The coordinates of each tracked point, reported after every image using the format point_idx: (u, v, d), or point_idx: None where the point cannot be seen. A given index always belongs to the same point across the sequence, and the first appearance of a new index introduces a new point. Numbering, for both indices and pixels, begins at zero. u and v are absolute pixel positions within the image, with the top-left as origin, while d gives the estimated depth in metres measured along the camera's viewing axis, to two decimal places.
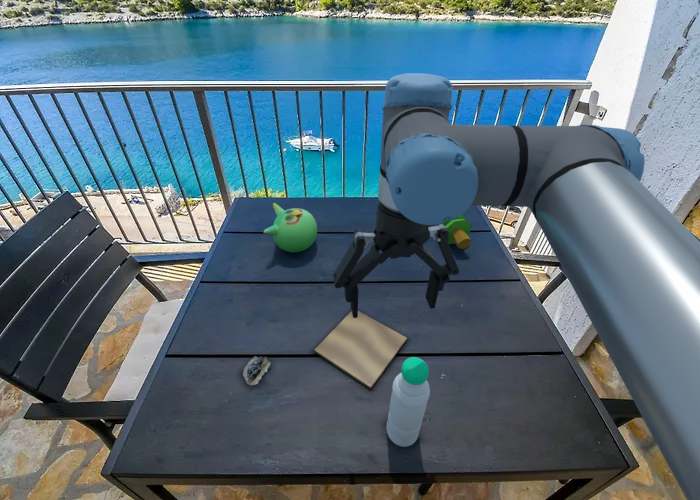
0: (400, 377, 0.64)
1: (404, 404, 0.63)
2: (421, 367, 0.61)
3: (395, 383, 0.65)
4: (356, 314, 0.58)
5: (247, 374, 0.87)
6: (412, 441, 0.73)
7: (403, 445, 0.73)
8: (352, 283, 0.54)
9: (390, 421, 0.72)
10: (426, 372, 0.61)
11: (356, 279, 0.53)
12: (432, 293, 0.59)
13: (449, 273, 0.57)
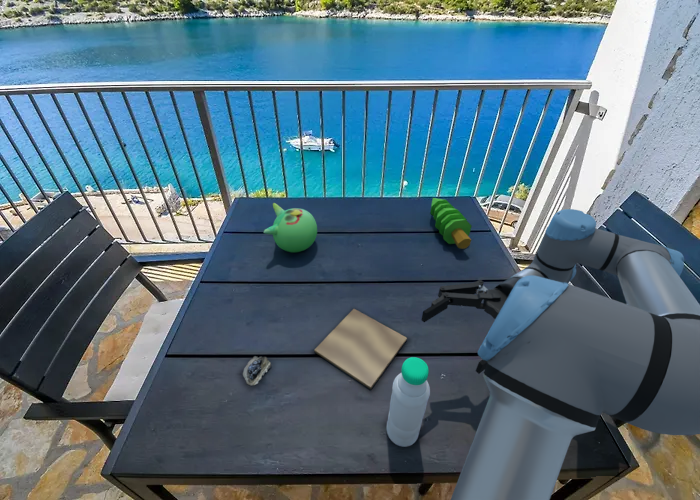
0: (400, 377, 0.64)
1: (404, 404, 0.63)
2: (421, 367, 0.61)
3: (395, 383, 0.65)
4: (428, 311, 0.68)
5: (247, 374, 0.87)
6: (412, 441, 0.73)
7: (403, 445, 0.73)
8: (450, 294, 0.71)
9: (390, 421, 0.72)
10: (426, 372, 0.60)
11: (455, 294, 0.71)
12: None
13: None
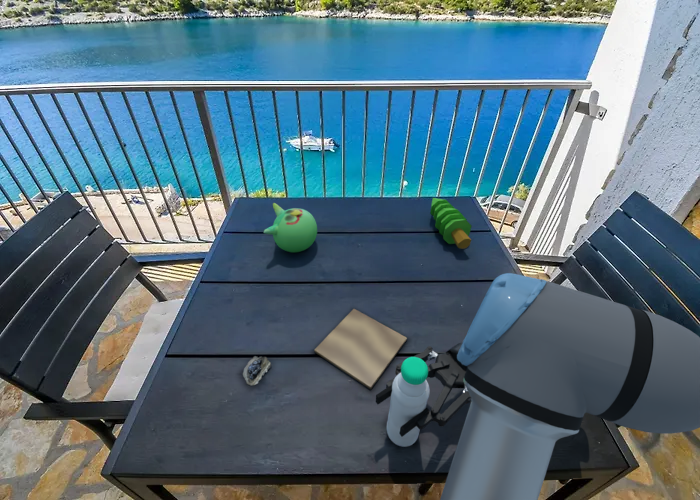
0: (400, 377, 0.64)
1: (404, 404, 0.63)
2: (421, 366, 0.61)
3: (395, 383, 0.65)
4: (381, 394, 0.68)
5: (247, 374, 0.87)
6: (412, 441, 0.73)
7: (403, 445, 0.73)
8: None
9: (390, 421, 0.72)
10: (425, 372, 0.61)
11: None
12: None
13: (438, 417, 0.66)
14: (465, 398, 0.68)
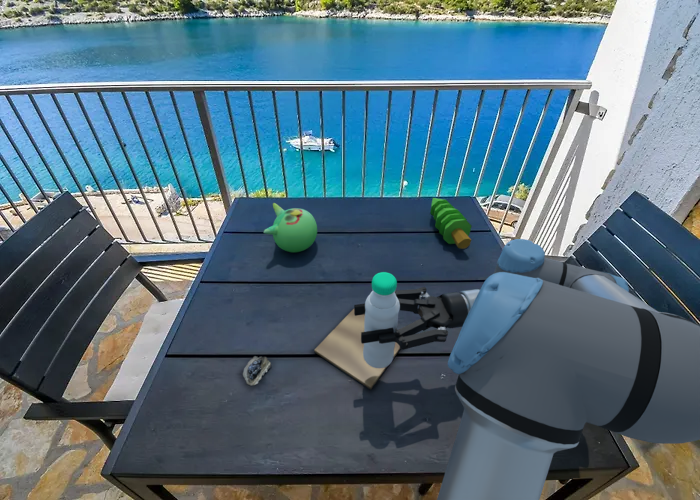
0: None
1: (369, 313, 0.69)
2: (389, 280, 0.65)
3: (369, 295, 0.71)
4: (358, 306, 0.74)
5: (247, 374, 0.87)
6: (380, 364, 0.77)
7: (371, 365, 0.78)
8: None
9: None
10: (391, 285, 0.65)
11: None
12: None
13: (399, 338, 0.69)
14: (433, 333, 0.69)
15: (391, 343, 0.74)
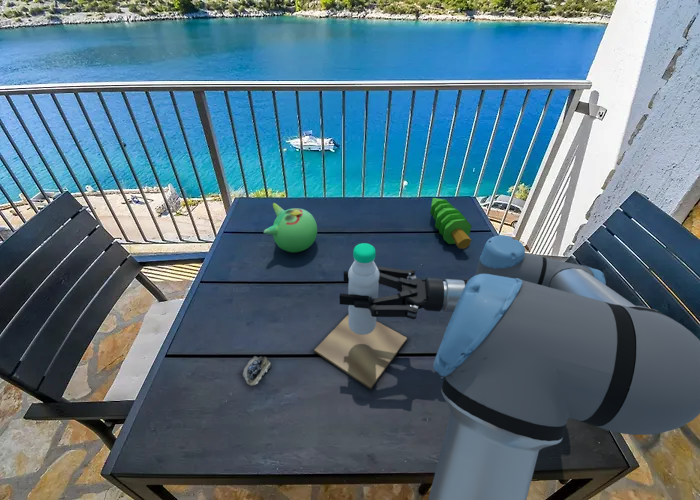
0: None
1: (349, 277, 0.77)
2: (368, 250, 0.73)
3: None
4: (347, 273, 0.83)
5: (247, 374, 0.87)
6: (359, 330, 0.85)
7: (352, 329, 0.86)
8: None
9: None
10: (368, 254, 0.72)
11: (381, 274, 0.83)
12: None
13: (371, 306, 0.76)
14: (403, 308, 0.74)
15: (369, 312, 0.81)
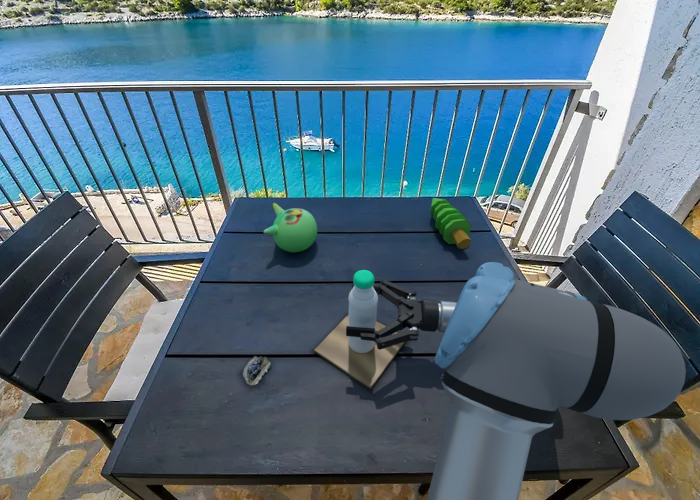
0: None
1: (349, 301, 0.82)
2: (367, 277, 0.77)
3: None
4: None
5: (247, 374, 0.87)
6: (359, 349, 0.90)
7: (352, 348, 0.91)
8: (383, 286, 0.90)
9: None
10: (367, 281, 0.77)
11: (386, 288, 0.89)
12: None
13: (377, 339, 0.78)
14: (406, 334, 0.78)
15: None
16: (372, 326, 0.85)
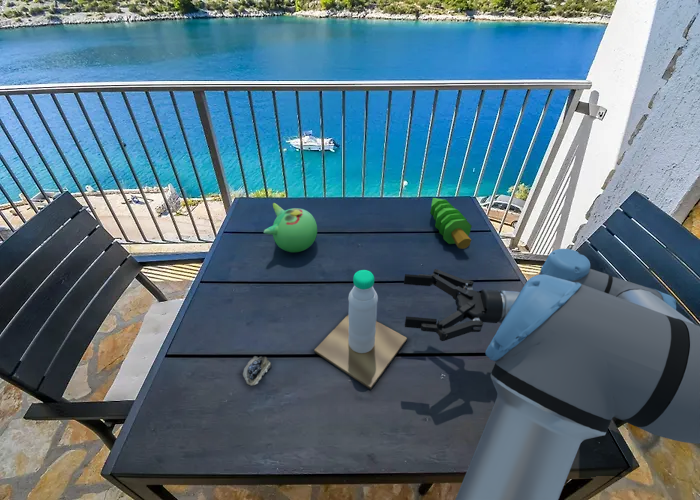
0: None
1: (349, 301, 0.82)
2: (367, 277, 0.77)
3: None
4: (408, 275, 0.85)
5: (247, 374, 0.87)
6: (359, 349, 0.90)
7: (352, 348, 0.91)
8: (437, 276, 0.85)
9: None
10: (367, 281, 0.77)
11: (441, 278, 0.85)
12: None
13: (440, 330, 0.73)
14: (470, 324, 0.74)
15: (368, 333, 0.86)
16: (372, 326, 0.85)
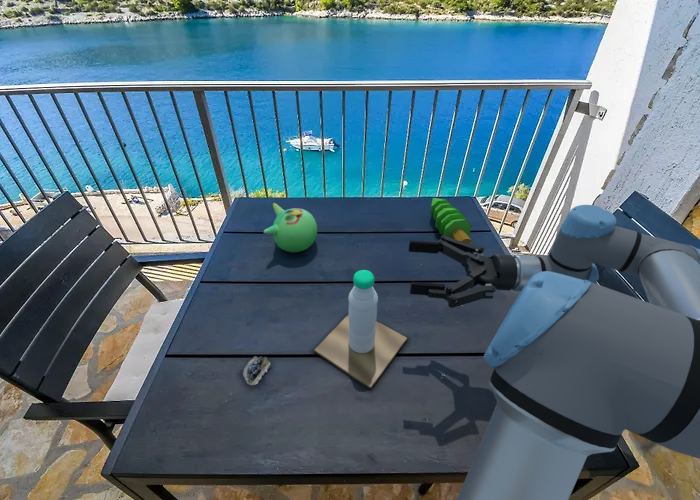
0: None
1: (349, 301, 0.82)
2: (367, 277, 0.77)
3: None
4: (413, 242, 0.79)
5: (247, 374, 0.87)
6: (359, 349, 0.90)
7: (352, 348, 0.91)
8: (444, 242, 0.79)
9: None
10: (367, 281, 0.77)
11: (448, 244, 0.78)
12: None
13: (449, 295, 0.67)
14: (482, 290, 0.67)
15: (368, 333, 0.86)
16: (372, 326, 0.85)
